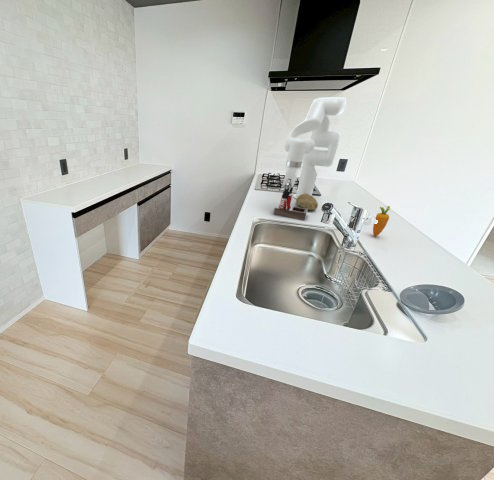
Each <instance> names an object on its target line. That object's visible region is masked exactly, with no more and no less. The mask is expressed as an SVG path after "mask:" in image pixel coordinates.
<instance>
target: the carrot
mask: <svg viewBox="0 0 494 480" xmlns="http://www.w3.org/2000/svg"><path fill="white" fill-rule="evenodd" d="M379 209H380V210H381V212H378V213H377V214H376V215H375V218H374V220H375V219H376V220H378V223H377V224H374V223H373V225H372V234H373V237H378V236H379V235H380V234H381V233H382V232H383V231H384V229H385V228H386V226H387V224H388V222H389V219H390V215H389V214H387V213H388V212H389V211H390V209H391V206H390V205H387V207H386V209H385V208H384V207H382V206H379Z"/></svg>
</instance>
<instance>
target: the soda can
mask: <svg viewBox="0 0 494 480" xmlns="http://www.w3.org/2000/svg"><path fill="white" fill-rule="evenodd" d="M282 196H283V193H282V194H281V198H280V203H279V204H280V208H283V209H289V208H290V206H291V204H292V200H293V192H292V193H290V194H289V198H288V199H284V198H282Z"/></svg>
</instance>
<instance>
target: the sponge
mask: <svg viewBox="0 0 494 480" xmlns="http://www.w3.org/2000/svg"><path fill="white" fill-rule="evenodd" d="M295 202H296V204H297V205H298V207H300V208H306V209H308V211H314V210H316V209H317V208H318V206H319V203H318V201H317V199H316V198H315V197H314V196H313V195H312V196H311V195H309V194H302V195H300V196H298V197H297V199H295Z"/></svg>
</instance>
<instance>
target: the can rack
mask: <svg viewBox="0 0 494 480" xmlns="http://www.w3.org/2000/svg"><path fill="white" fill-rule="evenodd" d="M308 211H309V210H308V209H306V208H303V207H301V206H295V205H290V208H289V209H283V208H280V203H277V205H276V206H275V207H274V210H273V215H274V216H278V217H285V218H290V219H295V220H300V221H306V218H307V215H308Z"/></svg>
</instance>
